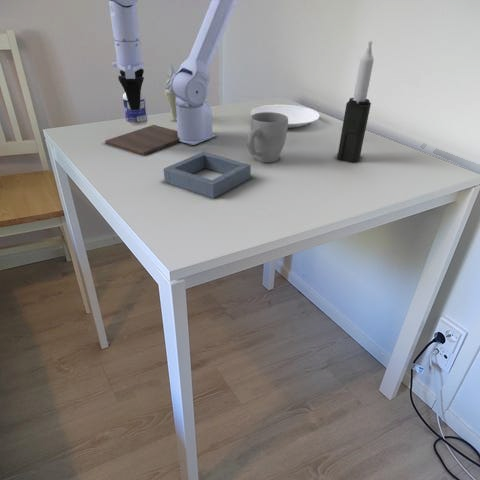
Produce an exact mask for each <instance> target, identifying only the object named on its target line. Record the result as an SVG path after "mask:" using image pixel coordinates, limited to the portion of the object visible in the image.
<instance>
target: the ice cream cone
mask: <svg viewBox="0 0 480 480" xmlns="http://www.w3.org/2000/svg"><path fill="white" fill-rule="evenodd" d="M175 73H176V71H175V69H174V67H173V64H172V63H170V66H169V71H168V73H167V79H166V80H165V81H164V84H163V85H164V86H163V87H165V88H164V90H163V92H164V94H165V97H166V100H167V103H168V106H169V110H170V112H171V115H172V118H173V121H174V122H177V115H176V96H175V95H174V93H173V92H172V90H171V79H172V77H173V75H174V74H175Z"/></svg>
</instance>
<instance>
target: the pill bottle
mask: <svg viewBox="0 0 480 480" xmlns="http://www.w3.org/2000/svg"><path fill="white" fill-rule="evenodd" d="M122 101H123V109H124V115H125V121H126V124H127V125H129V126H133V127H140V126H145V125H146V124H148V122H149V120H148V112H147V104H146V103H147V102H146V96H145V93H143V92H142V91H141V94H140V110H131V109H130V106H129V103H128V100H127V96H126V93H125V92H124V93H123V94H122Z"/></svg>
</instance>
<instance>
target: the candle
mask: <svg viewBox="0 0 480 480" xmlns="http://www.w3.org/2000/svg"><path fill="white" fill-rule="evenodd" d="M367 43H368V44H367V47H366V48H365V51H364V54H363V55H362V56H361V57H360V58H359V64H358V70H357V75H356V79H355V80H356V81H355V86H354V92H353V97H349V100H348V101H347V102H346V104H345V110H344V117H343V121H342V127H341V134H340V140H339V145H338V151H337V157H336V159H337V160H338V161H345V162H350V163H357V162H358V161H359V159H360V158H361V155H362V148H363V145H364V139H365V134H366V131H367V130H366V129H367V125H368V120H369V114H370V110H371V105H372V103H371V102H370V99H368V98H367V97H368V92H369V87H370V82H371V77H372V70H373V67H374V61H375V58H374V55H373V50H372V44H373V41H372V40H369V41H368V42H367Z"/></svg>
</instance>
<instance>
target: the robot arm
mask: <svg viewBox="0 0 480 480" xmlns="http://www.w3.org/2000/svg"><path fill="white" fill-rule="evenodd" d="M138 1H139V0H108V6H109V12H110V22H111V28H112V29H111V30H112V35H113V36H112V37H113V42H114V49H115V50H114V51H115V58H116V61H112V63H111V66H112V67H113V68H118V69H120V70H119V74H120V75H118V77H117V78H118V81H119V83H120V85H121V86H122V89H123V91H124V93H126V96H127V100H128V103H129V106H130V109H131V110H140V94H141V92H142V86H143V82H144V80H145V78H144V72H145V71H144V67H145V63H144V61H143V54H142V46H141V45H142V43H141V36H140V26H139V18H138V17H139V16H138V11H137V3H138ZM237 3H238V0H211V1H210V3H209V6H208V8H207V10H206V14H205V16H204V18H203V20H202V22H201V23H202V24H201V26H200V29H199V31H198V33H197V36H196V39H195V41H194V44H193V46H192V48H191V51H190V54H189V56H188V57H187V58H186V59H185V60H184V61H183V62H182V63H181V64H180V67H179V69H178V70H177V71H175V74H174V75H173V77H172V79H171V90H172V92H173V93H174V95H175V96H176V115H177V117H176V126H177V127H176V128H177V131H178V137H179V138H180V140H179V142H178V143H184V144H187V145H190V146H195V145H197V144H200V143H202V142H205V141H208V140H210V139H213V138H215V137H216V135H215V134H214V133H213V112H212V107H211V106H210V103H208V102H207V101H206V99H207V97H208V93H209V89H208V88H209V84H210V81H211V75H210V67H211V64H212V61H213V60H214V57H215V55H216V53H217V50H218V48H219V46H220V43H221V41H222V38H223V36H224V33H225V32H226V29H227V26H228V24H229V22H230V19H231V17H232V14H233V12H234V10H235V7H236V4H237Z"/></svg>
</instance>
